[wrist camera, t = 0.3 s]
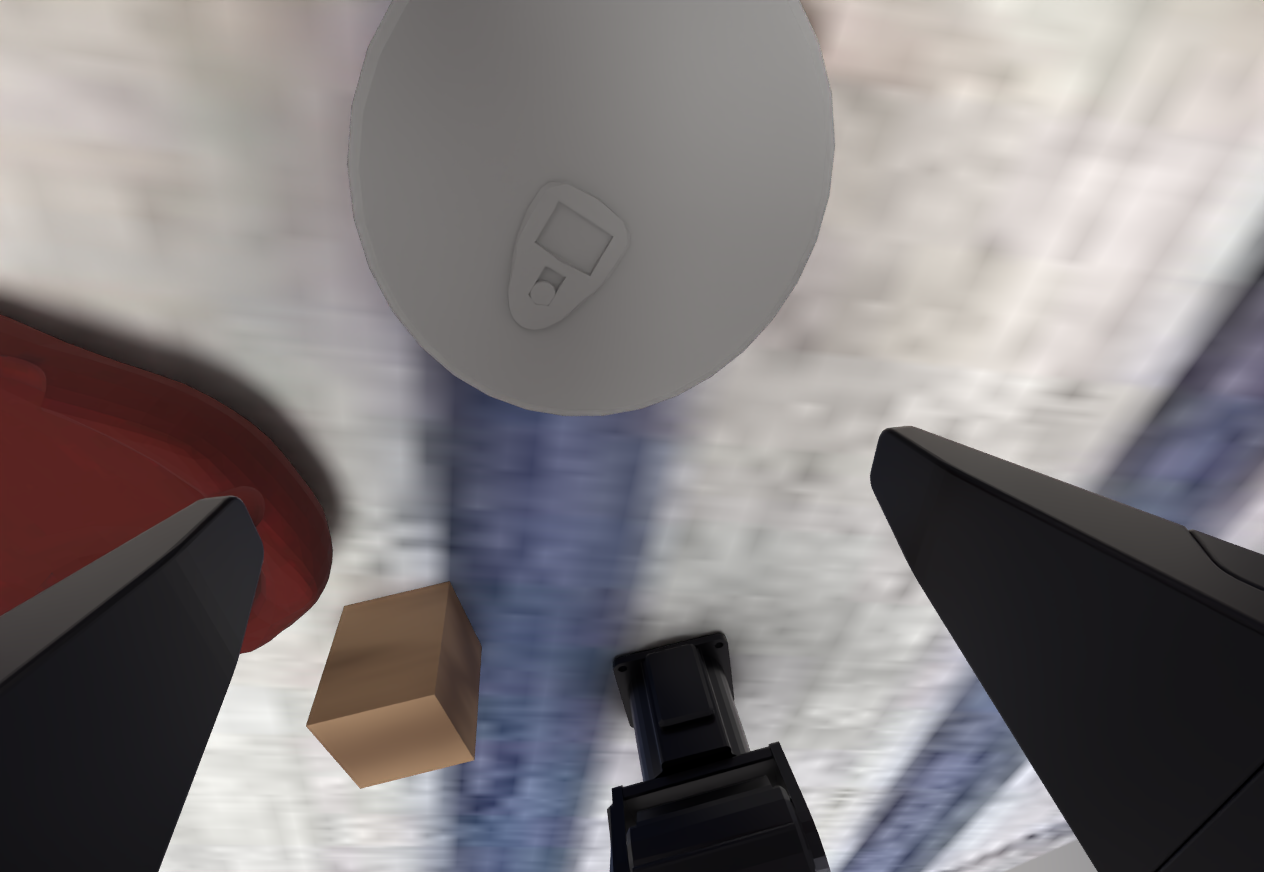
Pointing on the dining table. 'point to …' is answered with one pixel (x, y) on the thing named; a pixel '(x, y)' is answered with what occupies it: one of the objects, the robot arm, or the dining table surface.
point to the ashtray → (137, 474)
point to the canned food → (589, 187)
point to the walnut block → (400, 687)
